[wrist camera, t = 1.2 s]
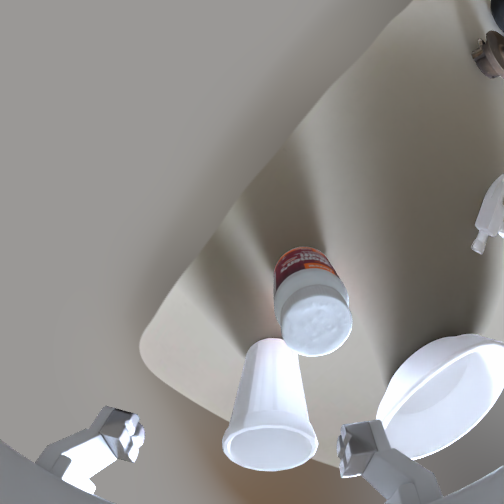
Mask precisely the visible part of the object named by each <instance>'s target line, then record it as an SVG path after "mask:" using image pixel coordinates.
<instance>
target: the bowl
mask: <svg viewBox="0 0 504 504" xmlns="http://www.w3.org/2000/svg"><path fill="white" fill-rule="evenodd" d="M503 387H504V343H503V342H502V341H499V340H495V339H491V338H487V337H484V336H480V335H476V334H463V335H459V336H456V337H445V338H441V339H437V340H435V341H433V342H431V343H429V344H427V345H425V346H424V347H422V348H420V349H419V350H418V351H416V352H415V353H414V354H412V355H411V356H410V357H409V358H408V359H407V360H406V361H405V362H404V363H403V364H402V365H401V366H400V367H399V369H398V370H397V371H396V372H395V374H394V376H393V377H392V379H391V380H390V383H389V385H388V387H387V391H386V393H385V395H384V397H383V399H382V401H381V403H380V405H379V408H378V412H377V416H376V420H377V419H380V420H381V422H382V424H383V427H384V430H385V432H386V435H387V438H388V441H389V444H390V446H391V449H392V448H395V449H397V450H398V451H400V452H401V453H403V454H404V455H406V456H407V457H409V458H410V459H412V460H414V459H418V458H422V457H424V456H427V455H430V454H432V453H435V452H437V451H439V450H441V449H443V448H445V447H447V446H448V445H450V444H452V443H453V442H455V441H456V440H458V439H459V438H460V437H462V436H463V435H464V434H466V433H467V432H468V431H469V430H470V429H472V428H473V426H475V425H476V424H477V423H478V422H479V421H480V420H481V419H482V418H483V417H484V415H486V413H487V412H488V411H489V410H490V408H491V407H492V406H493V404H494V403H495V402H496V400H497V398H498V397H499V395H500V394H501V392H502V390H503Z"/></svg>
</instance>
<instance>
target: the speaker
mask: <svg viewBox="0 0 504 504" xmlns="http://www.w3.org/2000/svg"><path fill="white" fill-rule="evenodd" d="M491 11H492V15H493V17H494V19H495V21H496V23H497V25H498V26H499V28H500V29H501V30H502V31H503V32H504V0H491Z"/></svg>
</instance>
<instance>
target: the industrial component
mask: <svg viewBox="0 0 504 504" xmlns="http://www.w3.org/2000/svg"><path fill="white" fill-rule="evenodd" d="M478 40H479V43H478V44H479V46H480V47H479V48H478V49H476V50H475V51H473V52H472V53H473V54H472V57H473V59H474V60H475V61H476V63H477V65H478V67H479V68H480V70H481V71H482V72H483V73H484V74H485V75H486V76H487V77H489V78H495V77H498V76H501V77H502V78H503V79H504V37H503V36H502V35H501V34H499V33H498V32H496V31H489V32H488V33H487V34H486V43H485V42H484V41H483V40H482V39H481V38H479V39H478Z"/></svg>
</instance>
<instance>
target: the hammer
mask: <svg viewBox="0 0 504 504" xmlns="http://www.w3.org/2000/svg"><path fill="white" fill-rule="evenodd" d="M503 180H504V173H503V174H502V175H501V176H500V177H499V178H497V179H496V180H495V181H494V182H493V183H492V185H491V186H490V188H489V189H488V191H487V193H486V195H485V198H484V200H483V203H482V206H481V209H480V212H479V215H478V217H477V220H476V223H475V226H476V227H477V229H478V230H479V234H478V236H477V238H476V240H474V242H473V244H472V247H471V249H473V250H474V251H476V252H477V253H479V254H483V252H484V249H485V244H486V241H487V239H488V236H492V237H496V236H497V234H499V235H500V236H502V237H503V238H504V222H503V218H504V206H503V205H502V202H503V198H504V181H503ZM502 181H503V182H502Z"/></svg>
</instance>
